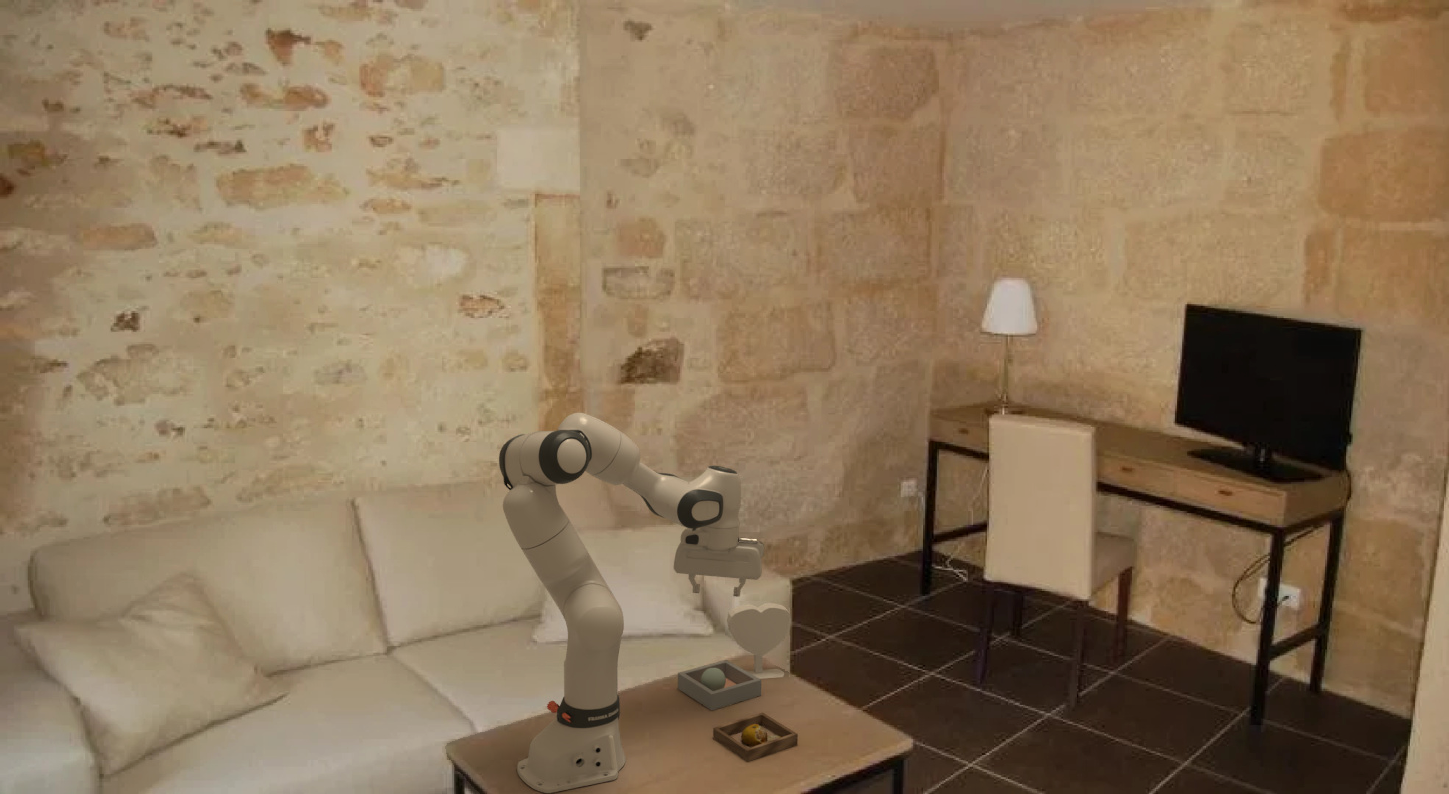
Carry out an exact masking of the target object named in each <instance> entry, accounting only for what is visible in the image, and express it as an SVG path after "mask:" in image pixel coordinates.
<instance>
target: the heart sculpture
mask: <svg viewBox="0 0 1449 794" xmlns="http://www.w3.org/2000/svg"><path fill="white" fill-rule="evenodd" d="M727 613H728V614H727V620H726V622H727V623H726V624H727V629H728V631H729V633H730V635H731V636H732V639H734V641H735V643H736V644H737V645H738V646H740V647H741V648H742V649H743V650H745V651H747V652H749V654H752V655H754V657H753V662H754V663H753V670H746V671H747V672H748V673H750V674H752V675H754V676H755V677H757V678H759V679H761V680H762V679H772V678H773V679H775V678H776V679H777V678H784V676H785V672H784V671H782V669H779V668H772V669H770V668H769V669H763V657H764V656H765V655H766V654H768V653H770V652H771V651H772V650H774V649H776V648H777V647H778V646H779V645H780V644H781V643H782V642H783V641H784V640H785V639H786V637H787V635H788V634H789V632H790V630H791V624H792V617H791V612H790V611H789V610H788V609H787V608H786V607H785V606H784V605H782V604H779V603H773V602H765V603H763V604H761V605H759V606H756V605H754V604H751V603H747V604H741V605H738V606H736V607H733V608H732V609H730V610H729V611H728V612H727Z"/></svg>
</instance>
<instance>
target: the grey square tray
mask: <svg viewBox="0 0 1449 794" xmlns="http://www.w3.org/2000/svg"><path fill="white" fill-rule="evenodd" d="M709 668H718V669H720V670H721V671H722V672H723V673H724V675H725V677H726V684H725V686H724V688H723V689H719V690H716V691H712V690H710V689H709V688H707V687H706V686H704V685H702V684H701V677H702V674H703V673H704V672H705V671H706V670H707V669H709ZM747 671H748V670H745V669H743V668H742V667H740V666H738V665H736V664H735V663H733V662H731V661H729V660H727V659H723V660H720V661H718V662H713V663H709V664H705V665H702V666H699V667H695V668H691V669H688V670H684V671H680V672H677V689H678V690H679V691H681V692H683V693H684V694H685V695H686V696H689V697H690V698H692V699H693V700H695V701H696V702H698V703H699V704H701V705H702V704H703V706H704V707H706V708H707V709H709V710H711V711H715V710H718V709H721V707H722V708H725V707H727V706H728V705H729V706H731V705H730V704H732V705H735V704H737V703H738V702H739V703H741V702H740V701H742V702H745V701H748V700H747V699H749V700H751V699H755V698H758V697H757V696H759V697H761V696H762V679H759V678H757V677H755V676H754V675H752V674H750V673H748V672H747ZM734 703H735V704H734ZM739 703H738V704H739ZM729 706H728V707H729Z"/></svg>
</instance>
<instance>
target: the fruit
mask: <svg viewBox="0 0 1449 794" xmlns="http://www.w3.org/2000/svg"><path fill="white" fill-rule="evenodd" d="M778 738H781V736H779V735H777V734H774V735H770V734H769V735H768V733H767V730H766V729H764V728H763V726H762V725H760V726H759V725H758V724H752V725H750V726H748V727H746V728H745V729H744V730H743V731H742V733H741V735H740V739H741V740H742V743H743V745H746V747H747V746H748V747H750V748H751V747H754V746H757V745H760V744H763V743H766V742H769V741H772V740H775V739H778Z"/></svg>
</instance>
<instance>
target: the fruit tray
mask: <svg viewBox="0 0 1449 794" xmlns="http://www.w3.org/2000/svg"><path fill="white" fill-rule="evenodd" d="M752 724H758V725H759V726H761V727H764V728H766V729H767V730H769V731H771V733H773V734H774V735H779V736H781V738H779V737H777V738H774V740H772V741H769V742H766V743H763V744H760V745H757V746H754V747H751V746H750V747H747V745H746V746H745V744H744V743H743V744H742V743H741V742H739V741H738V740H737V739H735V738H734V737H732V736H733V735H735V734H738V732H739V733H741V732H743V730H744V729H745V728H746V727H748V726H750V725H752ZM712 730H713V731H712V735H713V736H712V738H713V740H714V741H716V742H718V743H719V744H721V746H724V747H725V748H726V749H727V750H730V751H731V752H732V753H733V754H736V756H738V757H740V759H742V760H744V761H745V762H747V763H748V762H751V761H753V760H757V759H759V758H763V757H766V756H768V755H772V754H775V753H777V752H780V751H783V750H786V749H789V748H791V747H792V748H793V747H795V746H798V741H799V740H798V736H799V735H798V733H797V732H795V731H794V730H793V729H790V728H788V727H787V726H786V725H784V724H782V723H781V722H779V721H777V720H775V719H774V718H772V716H771V717H770V716H769V715H767V714H766V713H764V712H760V713H756V714H754V715H750V716H747V717H744V718H741V719H738V720H734V721H731V722H727V723H724V724H722V725H718V726H715V727H713V728H712Z"/></svg>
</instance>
